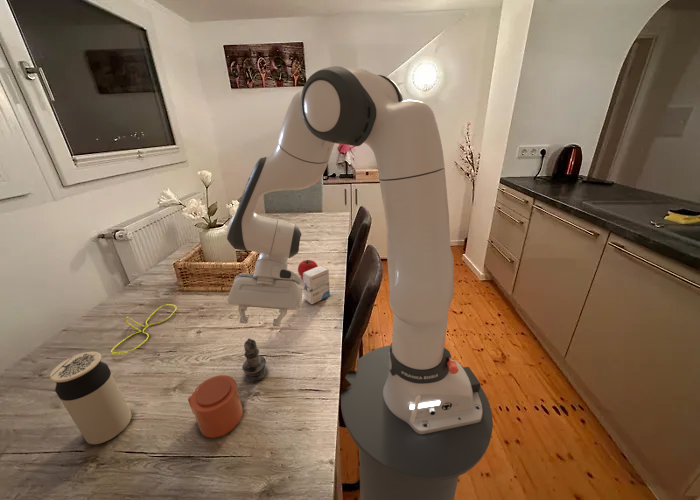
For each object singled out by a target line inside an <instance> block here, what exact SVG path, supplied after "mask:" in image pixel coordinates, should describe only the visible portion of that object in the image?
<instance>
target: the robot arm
mask: <svg viewBox="0 0 700 500" xmlns="http://www.w3.org/2000/svg"><path fill="white" fill-rule="evenodd" d="M278 134H279V135H278V139H277V143H276V146H275V148H274V150H272V152H271V153H270V154H269V155H267V156H264V157H260V158H259V159H258V160H257V162H256V163H255V164H254V167H253V169H252V171H251V173H250V175H249V178H248V180H247V181H246V182H247V183H246V185H245V187H244V190H243V192H242V194H241V198H240V200H239V202H238V206H237V208H236V210H235V213H234V214H233V215H232V217H231V218H230V220H229V223H228V225H227V228H226V240H227V242H228V244H230V245H231V247H232V248H233V249H234V250H236V251H245V252H249V251H250V252H254V253H259V255H258V256H257V259H256V261H255V265H254V271H253V273H245V272H241V273H240V274H237V275H236V276H234V278H233V283H232V286H231V288H230V291H229V294H228V297H227V302H228V304H229V305H230V306H231V305H232V306H235V307H237V310H238V313H239V323H240V324H248V322H249V316H247V315H246V311H247V310H248V308H258V309H259V308H260V309H270V310H271V309H272V310H278V313H279V315H278V316H277V318H273V322H272V326H273V327H277V328H279V327H281V324H282V320H283V319H284V318H285V317H286V315H287V313H288V311H296V312H297V311H299V310H300V308H301V307H302V303H303V289H302V287H301V284H302V282H303V279H302V277H301V276H300V275H299V274H297V273H296V272H294V271H292V270H289V269H288V259H291V258H293V257H294V256H296V255H298V254H299V251H300V242H301V237H302V232H301V230H300V228H299V226H298V225H296V224H295V223H293V222H290V221H287V220H285V219H283V218H282V219H281V218H273V217H268V216H264V215H261V214H258V213H257V212H256V209H257V208H258V205H259V203H260V201H261V199H262V197H263V196H265V195H266V194H269V193H272V192H278V191H299V190H304V189H307V188H310V187H313V186H314V185H316V184H317V183H319V181H320V180H321V179H322V177H323V175H324V174H325V171H326V169H327V167H328V164H329V162H330V159H331V157H332V156H331V155H332V152H333V150H334V146H335V144H338V145H346V146H351V147H360V146H362V145H363V144H365V145H367V146H368V147H369V148H370V149H371V150H372V153H373V154H374V157H375V161H376V166H377V167H376V168H377V174H378V180H379V186H380V187H379V188H380V191H381V198H382V199H381V200H382V205H383V212H384V218H385V225H386V226H385V227H386V254H387V255H386V259H387V260H386V261H387V273H388V304H389V307H390V310H391V312H392V314H393V316H392V333H391V334H392V336H391V343H390V345H391V346H390V352H389V369H390V370H389V375H388V378H387V381H386V383H385V385H384V388H383V397H384V400H385V403H386V405H387V407H388V408H389V409H390V411H391V412H392V413H393V414H394V415H396V416H397V417H398V418H400V419H402V420H404V421H405V422H407V423H408V424H409V425H410V426H411V427H412V428H413V430H414V431H415V432H417V433H418V434H426V433H431V432H436V431H441V430H445V429H450V428H455V427H460V426H465V425H469V424H474V423H478V422H481V419H482V404H481V401H480V398H479V395H478V393H477V392H479V390H480V386H482V384H481V382H480V380H478V379H479V378H477V376H476V375H475V373H474V372H473V371H472V369H471V368H470V366H463V365H462V364H460V363H459V362H458V361H456V360H455V359H453V358H452V355H451V351H450V350H449V349H447V346H446V344H445V341H446V337H447V336H446V335H447V329H448V328H447V327H448V319H449V318H448V317H449V310H450V309H449V308H450V306H451V304H452V301H453V298H454V293H455V258H454V253H453V251H452V247H451V245H452V244H451V231H450V230H451V229H450V213H449V202H448V201H449V200H448V190H447V179H446V167H445V158H444V151H443V150H444V149H443V145H442V138H441V135H440V130H439V127H438V123H437V119H436V117H435V114H434V111H433V109H432V108H431V107H430V106H429V105H428V104H427V103H425V102H423V101H420V100H413V99H407V100H404V98H403V94H402V92H401V89H400V88H399V86H398V85H397V84H396V83H395V82H394V81H393V80H392V79H391V78H389V77H387V76H385V75H383V74H377V73H373V72H371V71H370V70H369V71H368V70H367V69H363V68H355V67H343V66H328V67H324V68H321V69H319V70H317V71H315V72H314V73H312V74H311V75H310V76H309V77H308V79H307V80H306V81H305V83H304V85H303V88H302V90H300V91H298V92H296V93H295V94H294V96H292V99H291V100H290V103H289V104H288V107H287V110H286V113H285V115H284V118H283V121H282V124H281V127H280V130H279V133H278ZM452 359H453V360H452ZM461 365H462V366H463V367H462V366H461ZM476 408H477V409H476ZM478 409H479V410H478ZM424 426H427V427H424Z"/></svg>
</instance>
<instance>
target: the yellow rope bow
mask: <svg viewBox="0 0 700 500" xmlns="http://www.w3.org/2000/svg"><path fill="white" fill-rule="evenodd" d="M166 306H167V307H173V308H175V309H174V310H173V312H172V313H171V314H170V315H169V316H168V317H166V318H165V319H163V320H160V321H158V322H154V323H150V324H148V321H150V318H151V317H152V316H153V315H154V314H155V313H156V312H157V311H159V309H161V308H162V307H166ZM177 310H178V308H177V305H176V304H172V303H171V304H170V303H167V304H163V305H160V306H159V307H158V308H157V309H155V310H154V311H153V312H152V313H151V314H150V315H149V316H148V318H147V319H146V321H145V325H143V324H141V323H139V322H137V321H135V320H134V319H133V318H131V317H130V316H126V317H125V319H124V321H125V323H126V324H127V325H129V326H130V327H131V328H133V330H136V332H134V333H131V334H129V335H128V336H126V337H125V338H124V339H122V340H121V341H120V342H118V343H117V344H116V345H115V346H113V348H112V349H110V354H111V355H113V356H115V355H123V354H127V353H130V352H133V351H135V350H137V349H138V348H139V347H141V346H142V345H143V344H144V343H145V342H147V341H148V340H149V338H150V335H149V333H148V332H145V330H146V329H147V328H148V327H150V326H154V325H158V324H161V323H163V322H166V321H167V320H168V319H170V318H171V317H172V316H173V315H174V314H175V312H176V311H177ZM127 319H129V320H130V321H131V322H133V323H135V324H136V325H138V326H140V327H142V328H143V329H142V330H141V329H139V328H137V327H135V326H133V325H132V324H131V323H130V322H129V321H128V320H127ZM141 332H142V334H144V335H146V339H145V340H143V342H141V343H140V344H139V345H137V346H136V347H134V348H132V349H130V350H125V351H118V352H116V351H115V352H114V350H115V349H116V348H117V347H118V346H120V344H122V343H123V342H124V341H126V340H127V339H129V338H130V337H132V336H134V335H136V334H139V333H141Z"/></svg>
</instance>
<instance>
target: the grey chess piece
mask: <svg viewBox="0 0 700 500" xmlns="http://www.w3.org/2000/svg"><path fill="white" fill-rule="evenodd" d="M243 347H244V357H245V359H246V360H245V361H244V362H243V363H242V366H241V368H242V371H243V372H244V373H245V379H246V381H247V382H249V383H253V384H254V383H257V382H261V381H262V380H263V379H264V378H265V377H266V376H267V373H268V370H267V368H266V364H267V359H266V358H265V357H264V356H261V355H260V354H259V353H260V349H259V348H258V347H257V342H256V341H255V339H251V338H247V339H246V340H245V342H244V344H243Z"/></svg>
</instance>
